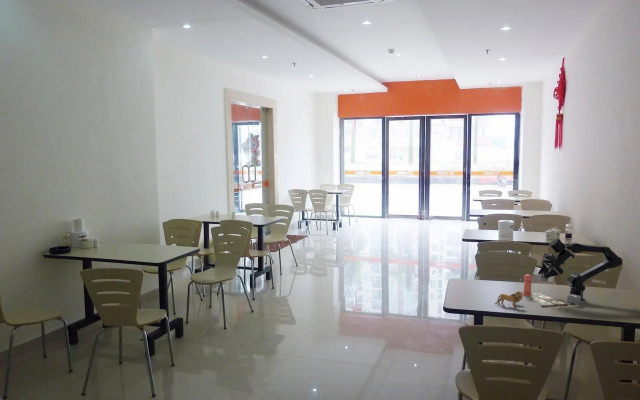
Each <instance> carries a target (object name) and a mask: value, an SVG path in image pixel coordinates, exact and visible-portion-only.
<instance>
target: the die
mask: <svg viewBox="0 0 640 400" xmlns="http://www.w3.org/2000/svg"><path fill="white" fill-rule="evenodd" d="M566 297H567V298H566V302H567V303H569V305H571V306H573V305H574V307H577V305H578V306H581V301H582V300H581V296H578V295H574V294H571V295H570V294H567V296H566Z"/></svg>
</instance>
